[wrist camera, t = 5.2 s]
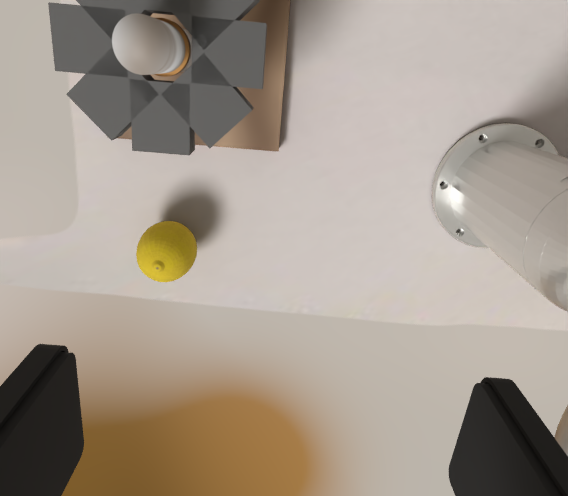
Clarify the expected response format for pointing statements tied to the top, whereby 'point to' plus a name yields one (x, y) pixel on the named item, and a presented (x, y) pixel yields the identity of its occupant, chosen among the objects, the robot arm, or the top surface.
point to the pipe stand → (178, 58)
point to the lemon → (166, 251)
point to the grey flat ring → (159, 93)
